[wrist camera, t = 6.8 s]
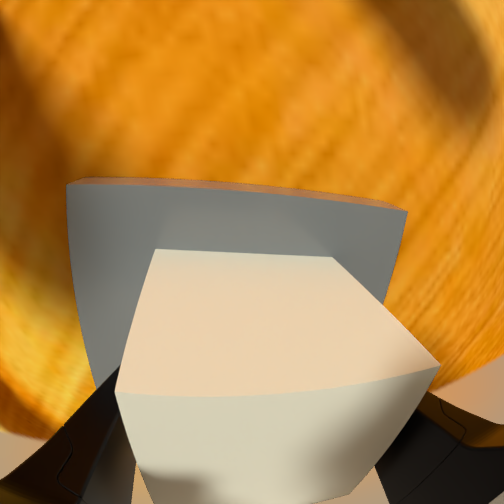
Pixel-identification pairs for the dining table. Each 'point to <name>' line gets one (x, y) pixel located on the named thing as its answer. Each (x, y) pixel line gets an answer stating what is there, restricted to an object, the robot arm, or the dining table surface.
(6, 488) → the robot arm
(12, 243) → the dining table surface
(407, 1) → the dining table surface
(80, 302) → the plate
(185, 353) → the cube
